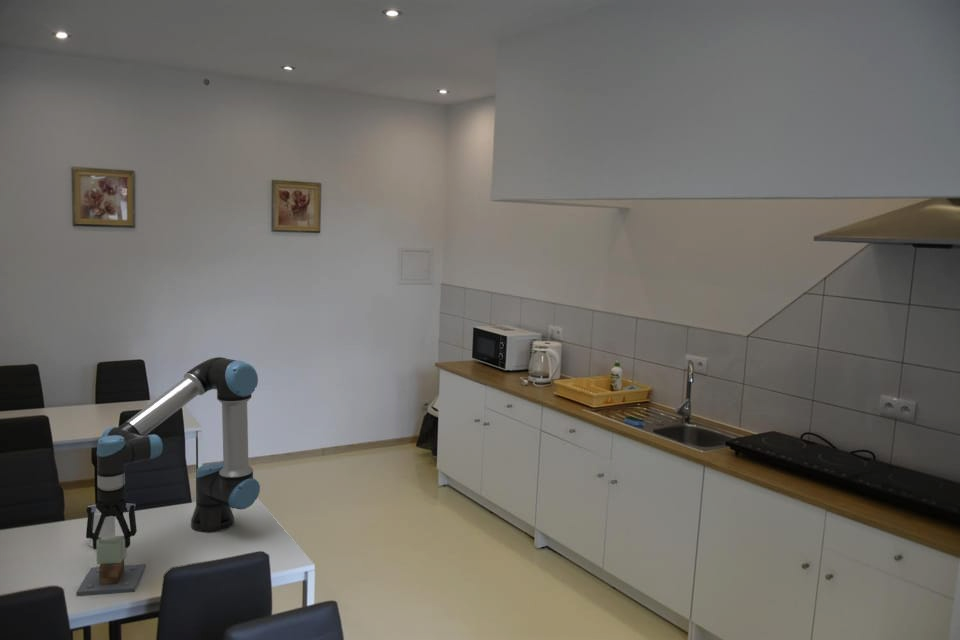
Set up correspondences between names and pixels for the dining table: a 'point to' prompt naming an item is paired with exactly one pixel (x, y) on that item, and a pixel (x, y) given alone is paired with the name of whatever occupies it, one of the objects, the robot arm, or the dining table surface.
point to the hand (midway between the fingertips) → (111, 557)
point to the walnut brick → (110, 573)
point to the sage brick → (109, 550)
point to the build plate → (125, 584)
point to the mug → (107, 527)
